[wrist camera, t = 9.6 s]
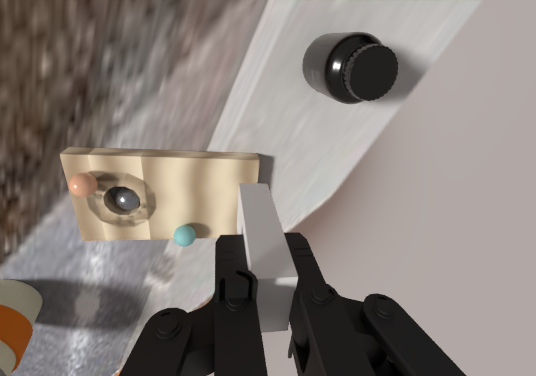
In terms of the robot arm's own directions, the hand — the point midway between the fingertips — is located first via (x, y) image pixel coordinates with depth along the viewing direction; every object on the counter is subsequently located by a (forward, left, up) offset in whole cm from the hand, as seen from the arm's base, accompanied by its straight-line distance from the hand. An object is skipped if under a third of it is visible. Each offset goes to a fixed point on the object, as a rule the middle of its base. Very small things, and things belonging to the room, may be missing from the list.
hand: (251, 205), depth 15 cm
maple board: (+8, +13, -24) cm, 29 cm away
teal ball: (+6, +18, -20) cm, 28 cm away
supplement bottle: (-12, -6, -25) cm, 28 cm away
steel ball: (+13, +13, -23) cm, 29 cm away
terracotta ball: (+18, +10, -20) cm, 29 cm away
